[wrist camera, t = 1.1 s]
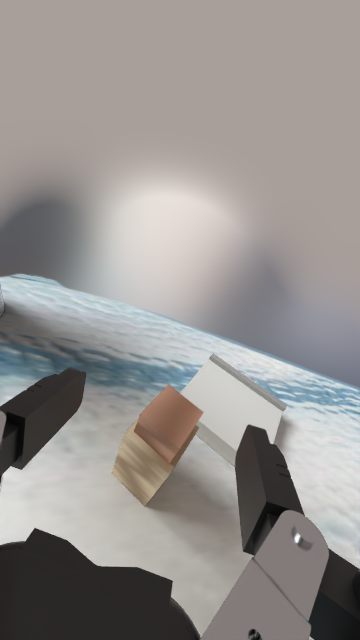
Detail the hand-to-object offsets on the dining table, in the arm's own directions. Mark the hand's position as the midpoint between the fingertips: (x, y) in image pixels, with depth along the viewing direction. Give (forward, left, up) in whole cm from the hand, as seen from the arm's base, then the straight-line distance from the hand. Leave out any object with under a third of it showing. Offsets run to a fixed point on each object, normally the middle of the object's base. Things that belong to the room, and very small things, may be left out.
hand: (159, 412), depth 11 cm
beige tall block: (0, +5, -21) cm, 21 cm away
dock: (+5, +19, -21) cm, 29 cm away
